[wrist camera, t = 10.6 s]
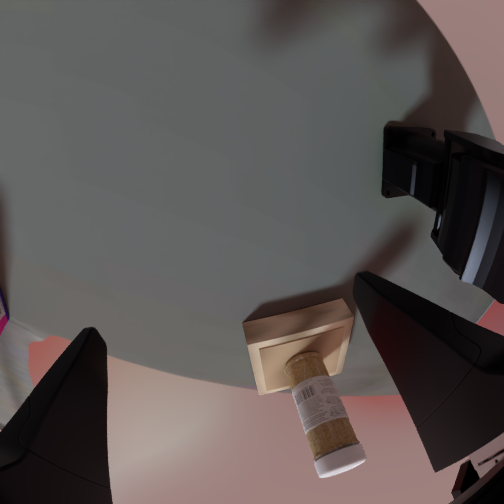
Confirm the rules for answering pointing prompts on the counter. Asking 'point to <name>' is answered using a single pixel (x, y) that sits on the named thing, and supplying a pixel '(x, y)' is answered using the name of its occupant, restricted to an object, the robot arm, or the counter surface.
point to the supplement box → (3, 314)
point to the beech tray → (297, 341)
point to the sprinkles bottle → (323, 416)
